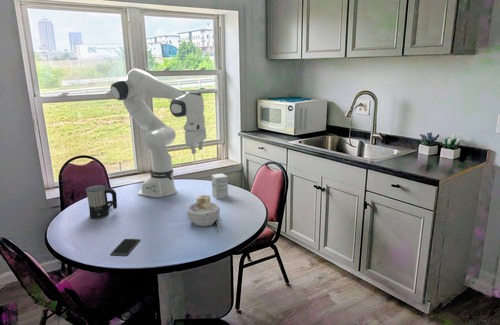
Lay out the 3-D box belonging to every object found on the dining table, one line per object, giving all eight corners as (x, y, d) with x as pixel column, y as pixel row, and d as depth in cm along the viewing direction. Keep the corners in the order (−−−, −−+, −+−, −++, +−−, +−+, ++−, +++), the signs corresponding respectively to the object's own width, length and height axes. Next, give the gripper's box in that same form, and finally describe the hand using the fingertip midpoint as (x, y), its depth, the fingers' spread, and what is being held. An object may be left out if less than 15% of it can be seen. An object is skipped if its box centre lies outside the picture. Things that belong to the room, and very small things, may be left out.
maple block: (197, 208, 166) (196, 198, 165) (200, 204, 171) (200, 195, 170) (207, 209, 165) (206, 199, 164) (210, 205, 170) (210, 195, 169)
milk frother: (92, 220, 173) (88, 192, 169) (83, 211, 185) (80, 184, 181) (121, 213, 182) (118, 186, 178) (111, 204, 194) (108, 178, 190)
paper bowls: (214, 230, 161) (214, 214, 159) (183, 227, 164) (182, 212, 162) (223, 217, 176) (223, 202, 174) (194, 214, 179) (194, 200, 177)
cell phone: (109, 256, 140) (109, 254, 140) (124, 240, 154) (124, 238, 154) (127, 257, 140) (127, 255, 139) (141, 240, 153) (140, 239, 153)
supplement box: (212, 195, 206) (211, 174, 203) (223, 193, 209) (223, 172, 206) (216, 199, 200) (215, 178, 197) (228, 197, 203) (227, 176, 200)
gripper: (197, 121, 186) (198, 146, 189) (182, 127, 166) (183, 155, 170) (208, 121, 184) (209, 147, 188) (194, 127, 165) (196, 156, 169)
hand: (197, 151), depth 179 cm, fingers open, 8 cm apart
